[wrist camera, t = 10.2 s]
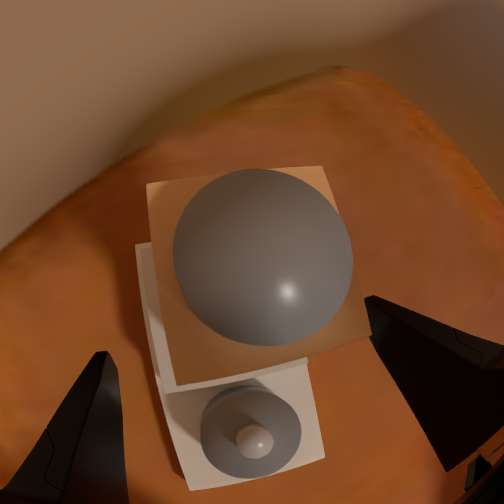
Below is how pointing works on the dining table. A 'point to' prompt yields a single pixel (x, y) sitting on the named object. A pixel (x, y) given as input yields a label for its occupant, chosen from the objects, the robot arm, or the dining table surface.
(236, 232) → the block
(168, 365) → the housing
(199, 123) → the dining table surface
